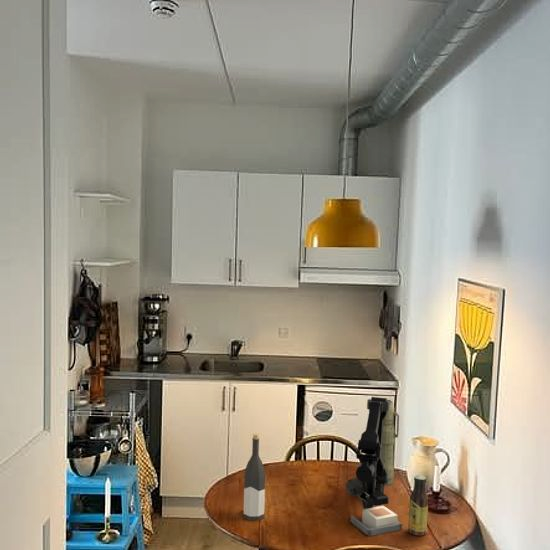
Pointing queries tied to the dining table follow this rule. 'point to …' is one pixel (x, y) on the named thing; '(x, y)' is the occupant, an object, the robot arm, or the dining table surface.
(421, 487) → the sauce bottle
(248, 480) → the wine bottle
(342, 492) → the dining table surface
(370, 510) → the carton
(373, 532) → the frame
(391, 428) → the thermos
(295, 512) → the dining table surface
